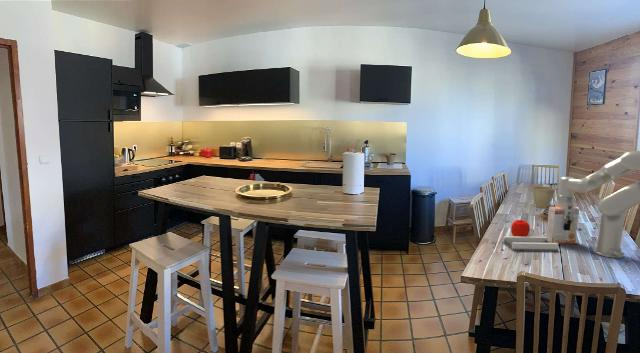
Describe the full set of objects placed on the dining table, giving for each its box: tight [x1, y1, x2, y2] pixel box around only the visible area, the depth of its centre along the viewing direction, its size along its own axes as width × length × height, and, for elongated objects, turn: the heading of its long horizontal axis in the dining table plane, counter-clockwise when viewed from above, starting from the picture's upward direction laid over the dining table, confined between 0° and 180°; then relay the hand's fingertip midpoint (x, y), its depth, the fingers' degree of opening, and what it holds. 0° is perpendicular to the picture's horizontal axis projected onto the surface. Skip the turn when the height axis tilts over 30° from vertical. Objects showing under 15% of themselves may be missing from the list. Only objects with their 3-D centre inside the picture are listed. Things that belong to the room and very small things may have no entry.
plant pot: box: [532, 185, 556, 209], centre depth 286 cm, size 15×15×16 cm
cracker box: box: [545, 206, 580, 245], centre depth 204 cm, size 14×6×21 cm, turn 92°
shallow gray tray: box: [502, 235, 559, 252], centre depth 198 cm, size 12×24×4 cm, turn 89°
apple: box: [510, 219, 531, 237], centre depth 209 cm, size 10×10×12 cm
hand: (561, 227), depth 205 cm, fingers open, 9 cm apart
